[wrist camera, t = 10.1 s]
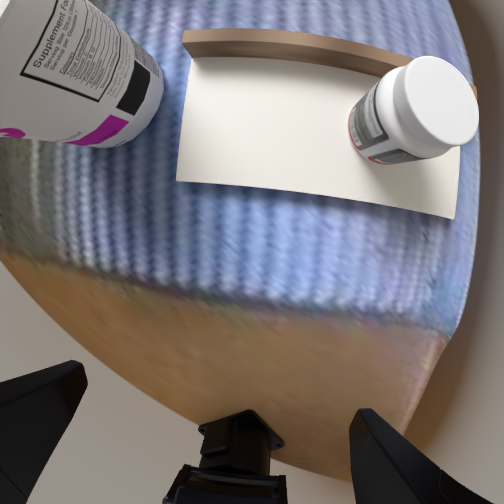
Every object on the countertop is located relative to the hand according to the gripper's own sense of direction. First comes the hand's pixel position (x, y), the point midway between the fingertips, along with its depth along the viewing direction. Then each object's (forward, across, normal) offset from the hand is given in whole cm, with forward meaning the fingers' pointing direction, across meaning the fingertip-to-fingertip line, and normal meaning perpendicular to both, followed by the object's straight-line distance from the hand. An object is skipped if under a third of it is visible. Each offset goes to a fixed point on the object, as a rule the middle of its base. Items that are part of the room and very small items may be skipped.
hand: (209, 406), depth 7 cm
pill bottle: (+12, -8, -11) cm, 18 cm away
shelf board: (+13, -5, -11) cm, 18 cm away
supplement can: (+13, +11, -13) cm, 22 cm away
